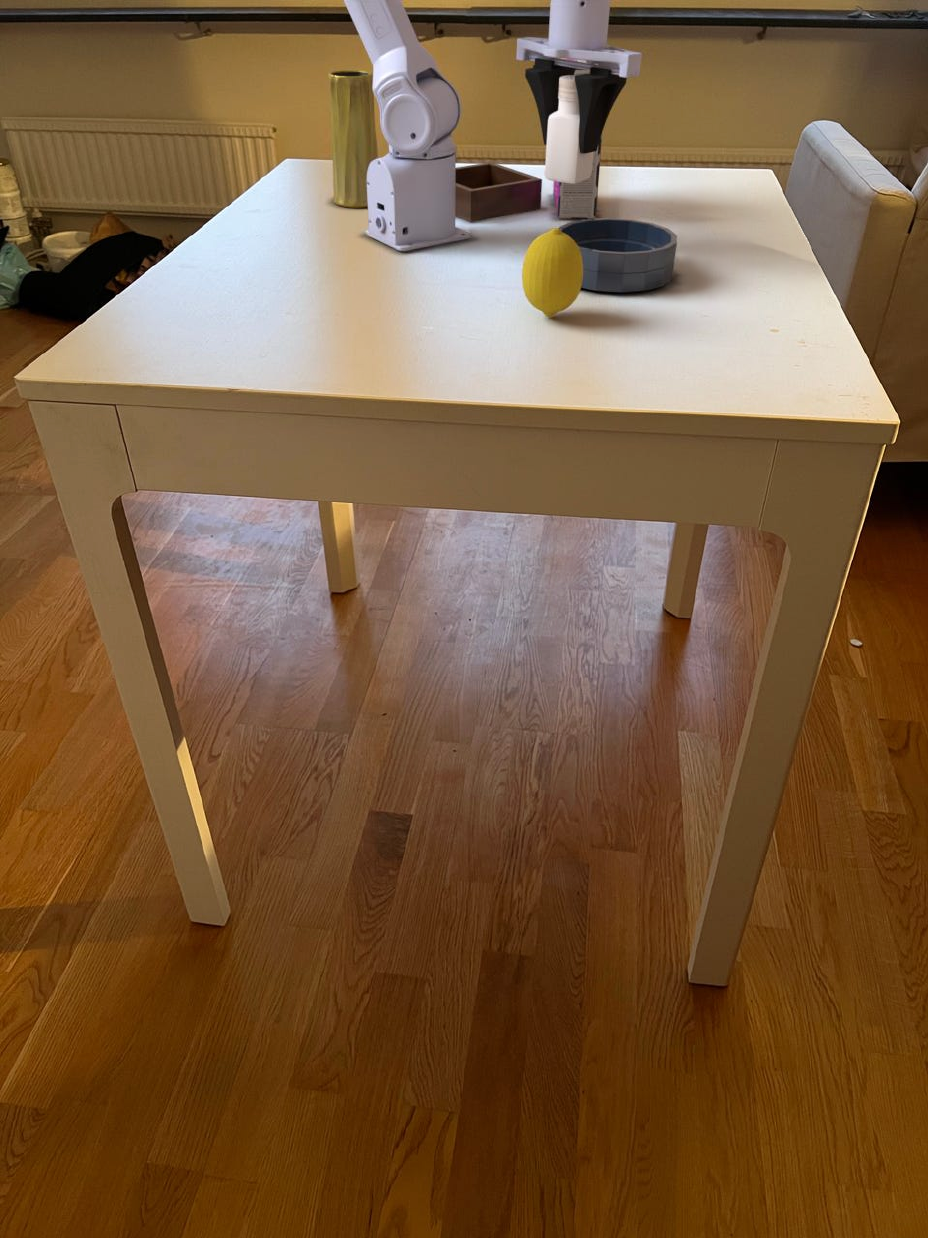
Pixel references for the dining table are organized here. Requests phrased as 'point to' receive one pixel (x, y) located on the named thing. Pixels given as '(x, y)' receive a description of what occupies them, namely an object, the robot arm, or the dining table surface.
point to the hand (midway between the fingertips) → (569, 147)
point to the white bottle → (566, 138)
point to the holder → (494, 192)
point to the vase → (352, 135)
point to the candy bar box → (579, 186)
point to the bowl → (623, 253)
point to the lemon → (552, 272)
